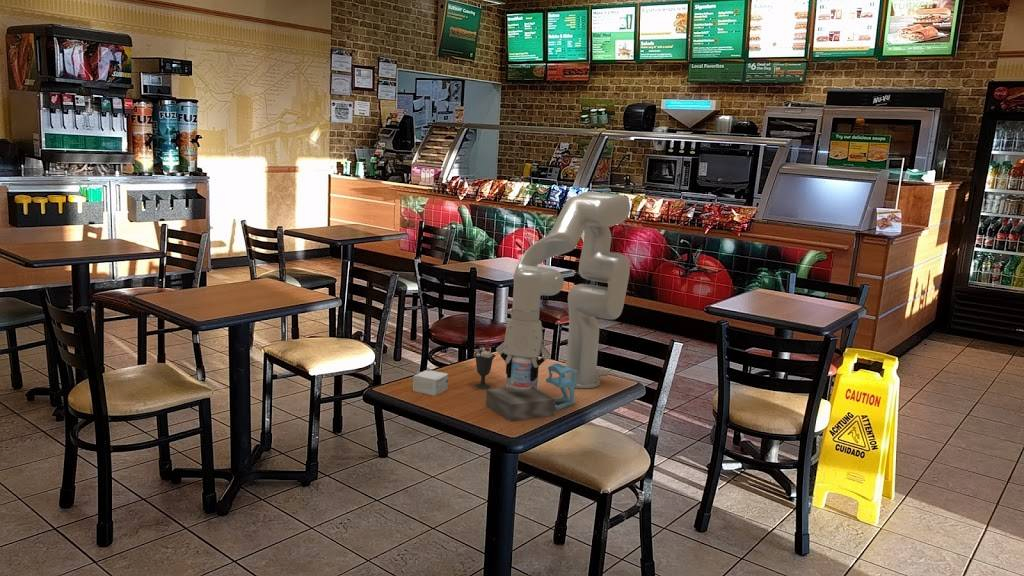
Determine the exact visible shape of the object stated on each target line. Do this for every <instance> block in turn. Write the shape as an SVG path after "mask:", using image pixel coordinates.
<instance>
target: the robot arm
mask: <svg viewBox="0 0 1024 576" xmlns="http://www.w3.org/2000/svg"><path fill="white" fill-rule="evenodd" d="M630 204H631V203H630V201H629V199H628V198H627V197H626V196H625V195H624V194H616V193H606V192H597V191H596V192H595V191H586V192H581V193H579V194H578V195H575V196H571V197H570V198H568V199H566V202H565V203H564V205H563V207H562V209H561V210H560V213H559V215H558V217H557V218H556V220H555V222H554V225H553V226H552V228H551V230H550V231H549V233H548V234H547V235H546V236H544V237H542V238H541V239H539V240H538V241H536V242H535V243H533V244H531V246H530V247H528V248H527V249H526V250H525V251H524V252H523V254H522V256H521V258H520V260H519V262H518V263H517V266H516V268H515V270H514V274H513V288H512V289H513V291H512V307H511V308H507V311H506V314H508V315H510V318H509V319H508V321H507V325H506V329H505V335H504V341H503V342H502V343H501V344H500V345H498V346H497V347H496V348H495V351H496V352H497V353H498V354H499V355H500V357H501V359H502V360H503V361H504V363H505V365H506V366H505V374H506V379H507V378H510V377H511V365H512V357H513V356H518V357H525V358H531V360H532V363H533V367H532V368H531V381H534V380H535V379H536V378H537V377H538V378H539V369H538V366H541V364H543V363H544V362H545V361H546V360H548V359H549V358H550V357H551V356H552V354H551V352H550V351H549V349H547V347H545V345H544V344H543V325H542V321H541V320H540V311H541V309H540V308H541V296H548V297H549V296H550V297H551V296H555V295H557V294H559V293H560V292H561V291H562V289H563V286H564V283H565V279H564V277H563V274H562V273H561V272H560V271H559V270H556V269H554V268H548V267H545V266H544V267H543V266H539V265H540V264H541V263H542V262H544V261H546V260H547V259H549V258H552V257H556V256H560V255H564V254H566V253H569V252H572V251H573V250H575V248H576V247H577V246H578V243H579V240H580V239H581V237H582V235H583V233H584V235H583V243H582V247H581V253H580V257H579V264H578V274H579V276H580V277H581V278H583V279H585V280H587V281H593V282H599V283H605V284H606V283H607V287H606V286H602V285H601V286H600V285H596V284H595V285H594V284H588V283H578V284H575V285H573V286H572V287H571V288H570V290H569V292H568V295H567V307H568V315H569V316H568V320H569V321H568V322H569V323H568V335H567V337H568V338H567V339H568V340H567V349H566V350H567V351H566V363H565V364H566V365H565V366H566V367H568V368H571V369H573V370H577V372H576V374H575V377H574V380H575V381H576V382H577V385H576V386H575V388H576V389H592V388H593V389H594V388H597V387H599V386H600V385H601V380H600V379H599V378H601V377H607V376H609V370H608V369H603V370H601V369H600V368H597V365H598V350H599V339H600V327H599V324H598V322H597V319H596V318H600V319H604V320H616V319H618V318H619V317H620V316H621V315H622V312H623V309H624V306H625V305H624V304H625V300H626V296H627V295H626V294H627V291H628V290H627V289H628V284H629V280H630V279H629V278H630V271H631V267H630V262H629V259H628V257H627V256H626V255H624V254H622V253H618V252H612V251H611V252H610V250H611V243H612V232H611V230H610V228H609V227H612V226H615V225H619V224H621V223H623V222H624V221H626V220H627V218H628V217H629V215H630V212H631V205H630ZM542 354H543V355H542ZM540 355H542V356H541V357H540V358H539V356H540ZM572 375H573V373H572V372H567V373H565V377H566V378H568V379H570V380H572ZM575 388H574V389H575Z"/></svg>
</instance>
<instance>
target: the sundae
mask: <svg viewBox="0 0 1024 576" xmlns="http://www.w3.org/2000/svg"><path fill="white" fill-rule="evenodd" d="M489 343H491V340H488V342H487V343H486V344H485V345H482V346H481V345H479V346H478V350H477V352H474V353H473V357H475V363H476V365H475V366H476V367H475V368H476V371H477V373H478V374H479V376H480V377H481V379H480V383H478V384H477V383H476V384H475V385H474V387H475V388H476V389H481V390H483V389H484V390H488V389H490V388H491V385H489V384H487V383H486V376H488V375H489V374H490V372H491V370H492V366H493V360H494V358H496V357H497V355H496V354H494V353H492V351H491V348H490V345H489Z"/></svg>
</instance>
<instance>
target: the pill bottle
mask: <svg viewBox="0 0 1024 576" xmlns="http://www.w3.org/2000/svg"><path fill="white" fill-rule="evenodd" d="M532 367H533V363H532V360H531V358H525V357H518V356H513V357H512V365H511V379H510V386H511V387H512V388H514V389H518V390H527V389H530V388H531V387H532V381H531V368H532Z"/></svg>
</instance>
